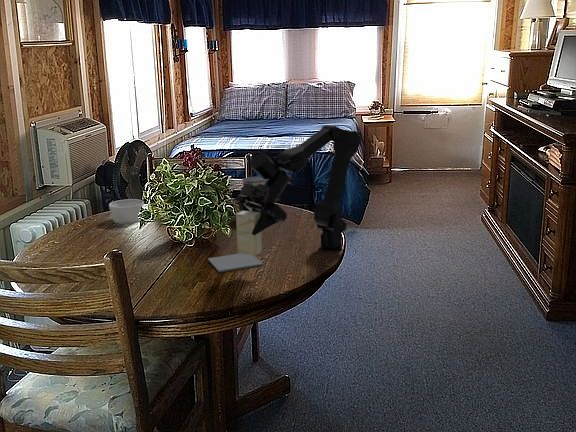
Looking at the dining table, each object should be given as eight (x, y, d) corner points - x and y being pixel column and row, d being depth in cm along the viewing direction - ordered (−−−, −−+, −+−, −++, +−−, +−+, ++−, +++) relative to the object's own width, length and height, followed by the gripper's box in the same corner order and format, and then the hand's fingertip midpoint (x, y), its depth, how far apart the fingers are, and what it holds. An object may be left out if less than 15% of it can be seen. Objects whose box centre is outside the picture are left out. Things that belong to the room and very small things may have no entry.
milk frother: (245, 212, 251) (244, 176, 247) (284, 212, 249) (283, 176, 245) (239, 222, 237) (237, 184, 233) (280, 222, 236) (279, 184, 232)
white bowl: (111, 217, 248) (109, 200, 246) (145, 214, 251) (143, 197, 249) (110, 226, 236) (108, 208, 234) (145, 223, 239) (144, 205, 237)
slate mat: (249, 253, 202) (249, 251, 202) (262, 265, 192) (262, 263, 192) (208, 260, 197) (208, 258, 197) (218, 272, 187) (218, 270, 187)
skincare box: (237, 253, 183) (234, 213, 180) (244, 249, 187) (242, 210, 184) (256, 256, 181) (254, 215, 177) (263, 251, 184) (261, 211, 181)
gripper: (237, 167, 187) (209, 210, 183) (277, 177, 173) (247, 223, 169) (259, 188, 194) (232, 230, 190) (299, 199, 180) (271, 244, 176)
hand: (245, 231), depth 181 cm, fingers closed on skincare box, 7 cm apart
